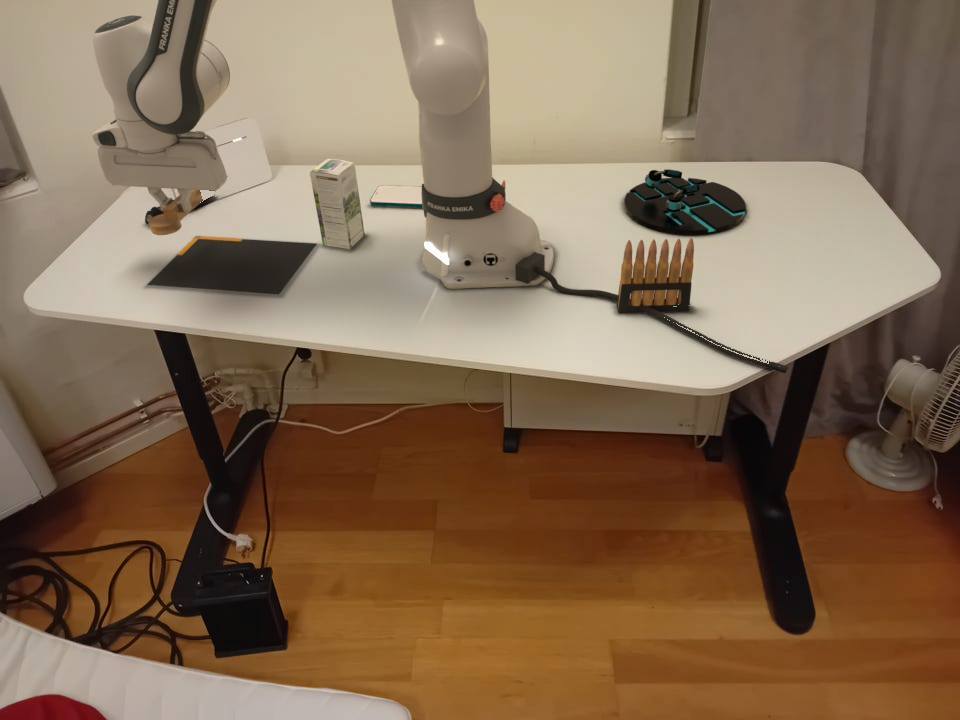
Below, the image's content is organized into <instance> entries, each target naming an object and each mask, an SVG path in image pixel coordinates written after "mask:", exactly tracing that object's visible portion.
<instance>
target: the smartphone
mask: <svg viewBox="0 0 960 720" xmlns="http://www.w3.org/2000/svg"><path fill="white" fill-rule="evenodd" d="M421 193H422V185H421V186H420V185H397V184H395V185H393V184H381V185H378V186H377V188H376V189H375V191H374V192H373V194H372V196H371V198H370V199H369V204H370V205H371V206H375V207H396V208H419V209H421V208H422V209H423V207H422V196H421Z"/></svg>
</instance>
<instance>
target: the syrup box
mask: <svg viewBox="0 0 960 720" xmlns="http://www.w3.org/2000/svg"><path fill="white" fill-rule="evenodd" d="M355 164H356V163H354V162H352V161H348V160H345V159H337V158H326V159H324V160H323V161H322V162H321V163H320V164H318V165H316V167H314V168H313V169H312V170H310V172H309V176H310V182H311V187H312V193H313V199H314V204H315V209H316V215H317V219H318V220H317V221H318V226H319V231H320V236H321V241H322V242H321V243H322V245H323V246H325V247H326V246H327V247H334V248H341V249H349V250H350V249H352V248H353V247H354V246H355V245H356V244H357V243H358V242H359V241H361V239H362V238H364V236H365V227H364V220H363V212H362V206H361V197H360V192H359V185H358V177H357V171H356V165H355Z"/></svg>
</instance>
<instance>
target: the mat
mask: <svg viewBox="0 0 960 720" xmlns="http://www.w3.org/2000/svg"><path fill="white" fill-rule="evenodd" d="M317 245H318V243H315V242H299V241H298V242H297V241H296V242H295V241H281V240H263V239H247V238H238V237H221V236H206V235H205V236H203V235H195V236H194V237H193V238H192V239H191V241H189V242H188V243H187V244H186V245H185V246H184V247H183V248H182V249H181V250H179V252H178V253H177V254H176V256H174V258H173V259H172V260H170V262H168V263H167V264H166V265H165V266H164V267H163V268H162V269H161V270H160V271H159V272H158V273H157V274H156V275H155V276H154V277H153V278H152V279H151V280H150V281H149V282H148V283H147V286H157V287H158V286H159V287H170V288H183V289H185V288H186V289H196V290H197V289H199V290H210V291H224V292H225V291H226V292H237V293H238V292H239V293H253V294H264V295H277V296H278V295H280V294H281V293H282V291H283V290H284V289H285V288H286V286H287V284H289V282H290V281H291V280H292V278H293V277H294V276H295V274H296V273H297V272H298V270H299V269H300V268H301V267H302V265H303V263H305V261H306V260H307V258H308V257H309V256H310V254H311V253H312V252H313V250H314V249H315V247H316V246H317Z"/></svg>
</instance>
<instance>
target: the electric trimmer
mask: <svg viewBox="0 0 960 720" xmlns="http://www.w3.org/2000/svg"><path fill="white" fill-rule="evenodd" d="M213 197H214V196H212V197H210V198H208V199H206V200H204V201H203V202H201V203H199V204H198V205H197V206H196V207H195V208H197V207H199V206H200V205H202V204H204V203H205V202H207V201H208V200H211V199H212V198H213ZM161 214H164V213H163V211H162V210H161V207H160V205H159V206H152V207H151V208H150V210H147V211H146V213H145V216H144V223H145V224H146V225H147V226H149V221H150V219H152V218H153V217H155V216H157V215H161Z"/></svg>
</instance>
